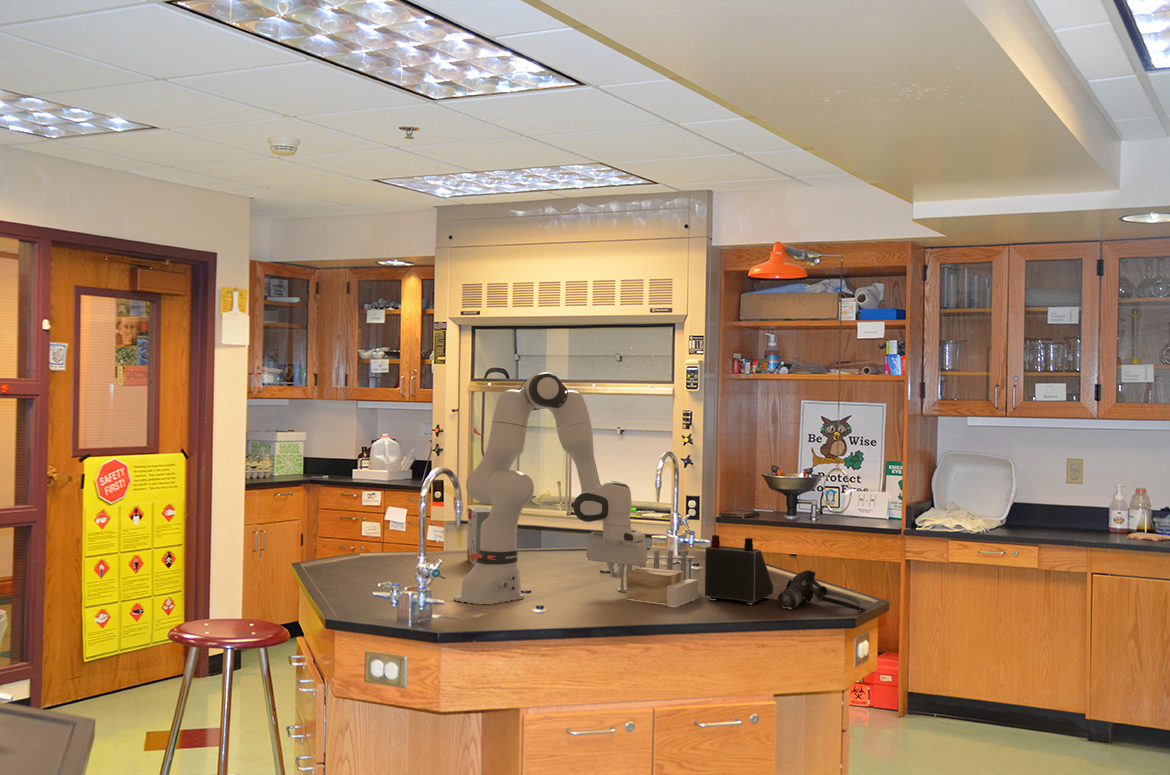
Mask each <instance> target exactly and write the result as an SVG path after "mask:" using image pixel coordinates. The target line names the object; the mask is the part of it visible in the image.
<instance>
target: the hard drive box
mask: <svg viewBox="0 0 1170 775" xmlns="http://www.w3.org/2000/svg"><path fill="white" fill-rule="evenodd" d="M490 512H491V508H489V507H487V506H472V507H471V506H469V507H467V541H466V542H467V545H466V548H467V549H466V554H467V555H466V560H467V561H468V562H470V563H471V564H472V565H473V567H474V566H475V565H476V563H477V561H476V560H477V559H472V556H473V555H472V553H478V552H479V550H480V542H481V524H482V523H483V521H484V520H486V519H487V518H488V516H489V514H490Z"/></svg>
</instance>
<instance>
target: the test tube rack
mask: <svg viewBox="0 0 1170 775" xmlns="http://www.w3.org/2000/svg"><path fill="white" fill-rule="evenodd" d="M666 553H667V554H666V555H660V549H654V550H653V555H647V560H653V568H654V569H660V560H666V562H667V563H666V564H667V565H666V570H673V568H674V566H673V565H674V564H673V560H680V571H683V572H684V574H683V581H684V580H687V577H686V576H687V560H688V579H692V562H693V560H696V557H695V556H694V555H687V549H681V550H680V555H674V550H673V549H667V551H666ZM646 564H647V563H646ZM646 564H645V565H643V566H639V568H642V567H645V568H647V567H646V566H647V565H646ZM624 570H625V568H624V569H623V570H622V572H621V578H620V586H619V587H617V586H616V590H617V589H618V590H619V591H628V571H631V570H633V565H626V573H625V575H626V576H625V577H626V579H625V580H626V581H625V582H626V584H625V585H626V587H625V586H624ZM673 571H674V570H673Z"/></svg>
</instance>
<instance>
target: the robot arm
mask: <svg viewBox="0 0 1170 775" xmlns="http://www.w3.org/2000/svg"><path fill="white" fill-rule="evenodd" d="M543 409H544V410H545V409H547V410H548V411H550V412H551V414H552V415H553V418H554V420H555V422H554V423H555V428H556V432H557V437H558V439H559V443H560V445H561V448H562V449H563V451H564V452H565V453H567V454H568V455H569V456H570V457H571V459H572V460H573V462H574V464H575V467H576V471H577V475H578V480H579V484H580V489H581V492H580V494H578V496H577V497H576V498H575V499H574V500H573V506H572V508H573V512H574V515H575V516H576V518H578V519H579V520H581V521H583V522H586V523H593V522H595V521H596V522H597V521H602V531H595V530H593V531H591V532H589V533H588V535H587V546H586V553H585V556H586V559H587V561H591V562H600V563H607V564H606V566H607V569H608V570H609V572H610V573H609V574H610V576H609V577H610V578H613V579H621V572H622V570H623V569H624V570H625V567H626V566H627V565H632V566H636V567H640V566H643V565H645V564H647V562H648V559H647V556H648V548H647V544H646V542H645V540H646V534H645V533H644V532H642V531H639V530H637V529H635V528H634V527H632V522H631V513H632V492H631V489H630V486H628V484H626V483H623V482H621V481H614V480H608V481H606V482H605V483H603V484H601V481H600V477H599V473H598V468H597V463H596V460H595V453H594V451H595V450H594V436H593V427H592V426H593V425H592V422H591V417H590V414H589V413H590V412H589V410H588V406H587V404H586V401H585V398H584V397H583V395H582V394H581V393H580V392H578V391H575V390H569V389H568V388H567V387H566V386H565V385H564V383H563V382H562V381H561V379H560V378H559V377H558V376H556V375H555V374H553V373H551V372H545V371H544V372H540V373H536V374H533V375H531V376H530V377H529V378H528V379H527V380H525V381H524V382H523V383H522V385H521V386H520V387H519V388H518V389H508V390H505V391H502V392H501V393H500V395H499V397H498V399H497V402H496V404H495V408H494V411H493V415H492V420H491V428H490V431H489V438H488V442H487V446H486V449H485V452H484V454H483V456H482V458H481V460H480V462H479V464H478V465H477V467H476V468H475V469H474V470H472V471H471V472H469V475H468V476H467V478H466V481H465V489H466V492H467V494H468V495H469V497H470V498H472V499H473V500H476V501H478V502H480V503H483V504H491V508H490V509H491V512H490V514H489V516H488V518H487V519H486V520H484V521H483V523H482V524H481V542H480V550H479V552H478V553H472V555H473V556H472V559H477V560H476V561H477V563H476V565H475V566H474V565H473V567H472V568H471V570H470V571H469V572H468V573H467V574H466V576H465V577H464V578H463V580H462V583H461V584H462V585H461V593H460V594H457V595H455V596H453V601H455V600H456V602H458V601H460V603H464V602H467V603H466V604H471V603H473V604H474V605H482V604H491V605H495V604H494V603H497V604H500V603H499V602H502V603H505V601H507V602H511V601H510V600H513V601H517V600H516V599H518V600H522V598H523V599H524V593H522V590H521V589H522V587H521V586H522V585H521V573H520V570H519V568H518V565H517V562H518V557H519V554H518V549H517V536H518V535H517V534H518V533H517V532H518V524H519V520H520V516H521V514H522V511H523V509H524V507H525V506H526V505H527V504H528V503H530V501H531V500H532V498H533V496H534V493H535V485H534V484H535V483H534V481H533V479H532V478H531V476H529V475H528V474H526V473H524V472H521V471H518V470H515V469H514V470H513V469H511V468H512V465H513V463H514V461H515V460H516V459H518V458H519V457H520V456H521V455H522V454H523V452H524V449H525V442H526V438H527V436H526V435H527V429H528V422H529V418H530V414H531V413H532V411H538V410H543ZM615 564H616V565H617V568H618V570H617V571H616V570H615V568H614V566H615ZM625 565H626V566H625ZM473 604H472V605H473Z"/></svg>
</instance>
